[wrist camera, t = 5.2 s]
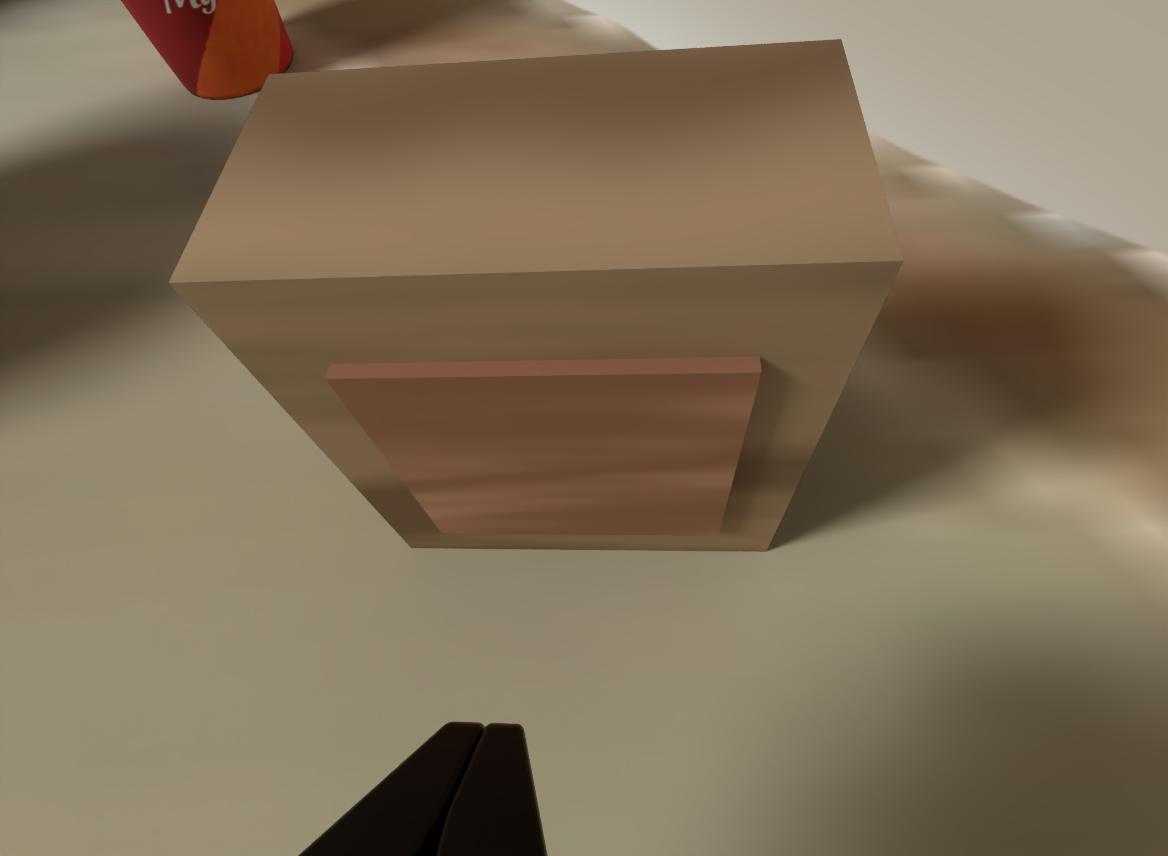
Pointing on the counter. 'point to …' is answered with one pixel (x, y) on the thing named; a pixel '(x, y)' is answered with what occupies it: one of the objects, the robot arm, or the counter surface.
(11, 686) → the counter surface
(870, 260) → the wooden box
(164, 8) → the paper cup
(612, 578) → the counter surface
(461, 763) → the robot arm
